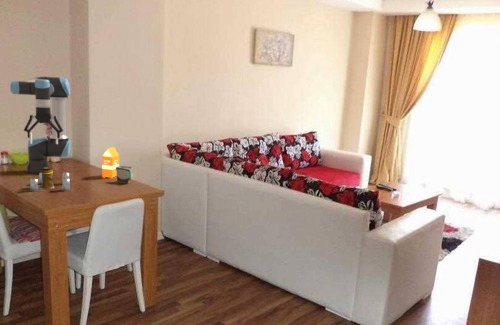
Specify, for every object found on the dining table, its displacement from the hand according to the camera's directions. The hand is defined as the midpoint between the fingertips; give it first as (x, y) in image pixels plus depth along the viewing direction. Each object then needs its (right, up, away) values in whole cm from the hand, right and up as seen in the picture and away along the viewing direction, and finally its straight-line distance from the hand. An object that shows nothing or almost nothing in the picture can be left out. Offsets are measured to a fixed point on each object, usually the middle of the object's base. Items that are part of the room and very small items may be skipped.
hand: (44, 143), depth 246 cm
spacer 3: (+4, -24, +20) cm, 31 cm away
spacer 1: (-6, -27, 0) cm, 28 cm away
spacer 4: (+10, -27, +5) cm, 30 cm away
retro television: (+38, -24, +34) cm, 56 cm away
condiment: (-3, -26, +9) cm, 28 cm away
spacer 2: (-8, -24, +16) cm, 30 cm away
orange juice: (+23, -21, +46) cm, 56 cm away
